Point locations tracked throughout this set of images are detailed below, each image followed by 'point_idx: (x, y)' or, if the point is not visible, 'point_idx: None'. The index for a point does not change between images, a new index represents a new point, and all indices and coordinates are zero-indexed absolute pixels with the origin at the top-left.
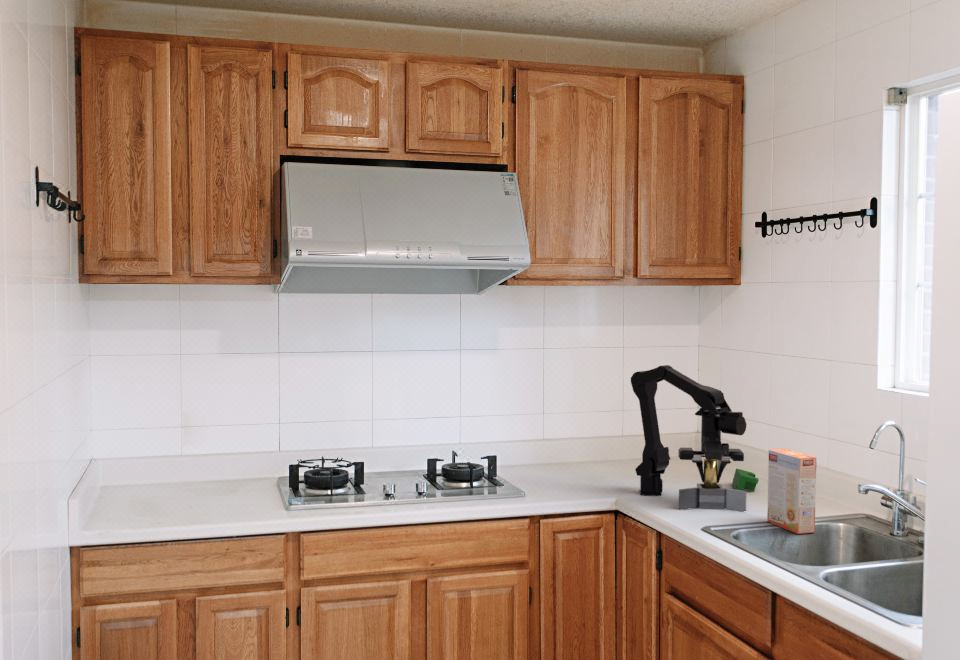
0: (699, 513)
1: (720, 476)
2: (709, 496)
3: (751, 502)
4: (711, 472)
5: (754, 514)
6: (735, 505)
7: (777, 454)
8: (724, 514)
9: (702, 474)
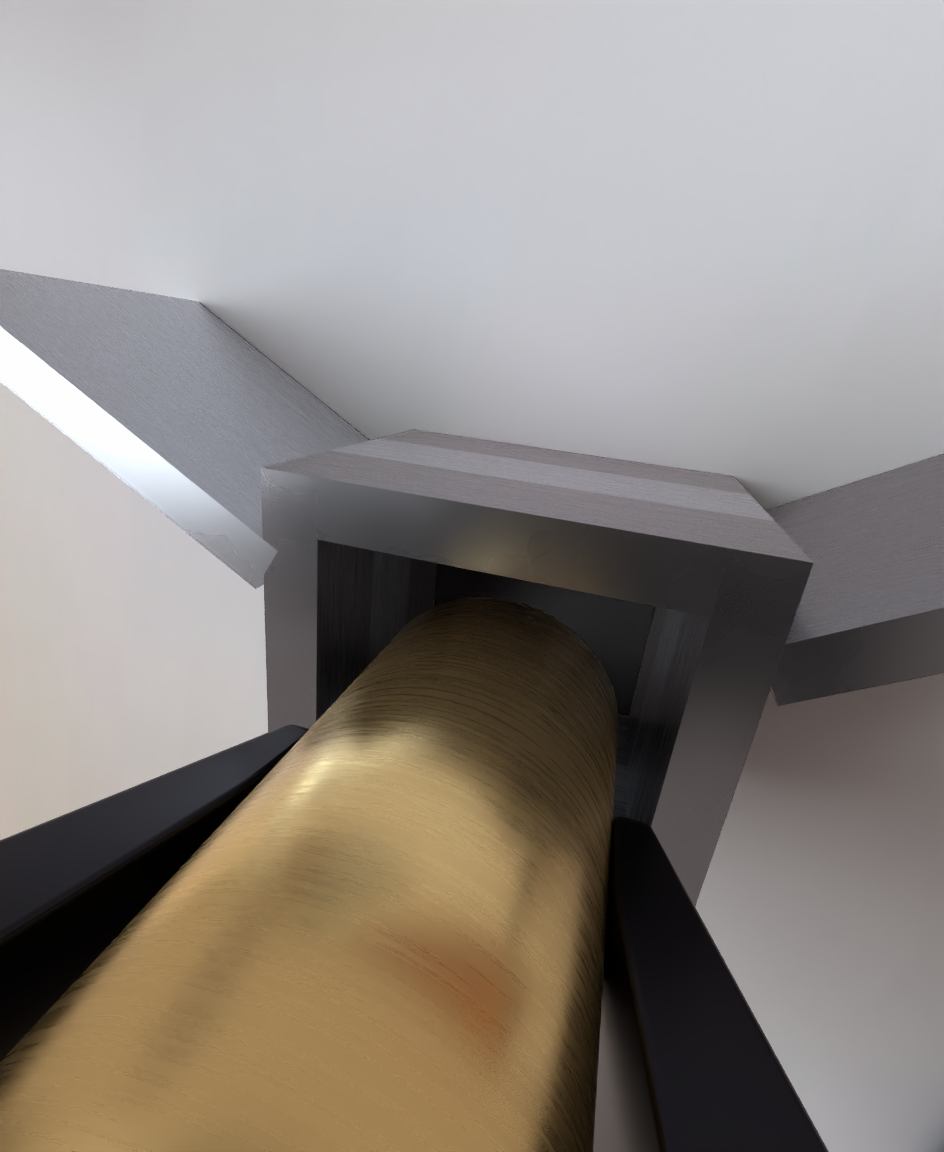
0: (865, 148)
1: (141, 786)
2: (579, 488)
3: (126, 686)
4: (322, 913)
5: (112, 166)
6: (258, 379)
7: None
8: (470, 119)
9: (683, 1017)
